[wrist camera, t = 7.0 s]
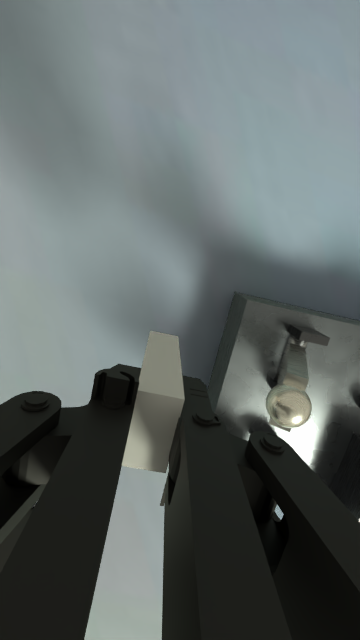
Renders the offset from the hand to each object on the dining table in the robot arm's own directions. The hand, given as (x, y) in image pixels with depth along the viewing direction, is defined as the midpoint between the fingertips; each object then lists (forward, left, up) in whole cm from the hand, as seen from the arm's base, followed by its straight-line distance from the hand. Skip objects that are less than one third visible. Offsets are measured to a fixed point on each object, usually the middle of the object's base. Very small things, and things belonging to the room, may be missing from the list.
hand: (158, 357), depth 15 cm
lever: (+9, 0, -4) cm, 10 cm away
